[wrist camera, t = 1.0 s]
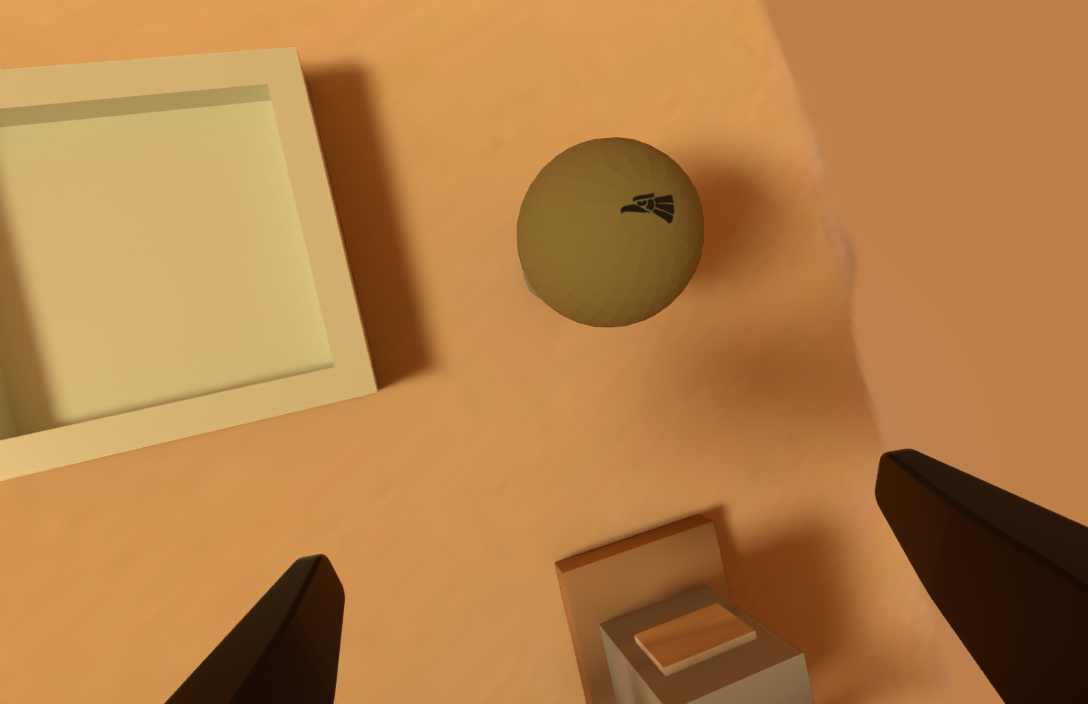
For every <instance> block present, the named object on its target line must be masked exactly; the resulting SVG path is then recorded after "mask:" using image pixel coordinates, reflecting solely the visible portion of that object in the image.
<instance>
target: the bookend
mask: <svg viewBox="0 0 1088 704" xmlns="http://www.w3.org/2000/svg"><path fill="white" fill-rule="evenodd" d="M555 567H556V572H557V576H558V580H559V585H560V589H561V594H562V598H563V602H564V607H565V611H566V615H567V620H568V624H569V629H570V633H571V637H572V642H573V646H574V651H575V655H576V659H577V664H578V668H579V672H580V677H581V681H582V686H583V690H584V694H585V699H586V703H587V704H815V703H814V698H813V694H812V689H811V684H810V680H809V675H808V670H807V666H806V661H805V656H804V652H802V651H801V650H799V649H798V648H796V647H795V646H793V645H792V644H791V643H789V642H788V641H786V640H785V639H783V638H782V637H781V636H779V635H778V634H776V633H775V632H773V631H772V630H771V629H769V628H768V627H766V626H765V625H763V624H762V623H761V622H759V621H758V620H756V619H755V618H753V617H752V616H750V615H749V614H748V613H746V612H745V611H743V610H742V609H740V608H739V607H738V606H736V605H735V604H733V603H732V602H731V599H730V594H729V590H728V585H727V581H726V576H725V572H724V567H723V562H722V558H721V553H720V549H719V544H718V540H717V535H716V530H715V526H714V521H712V520H710V519H708V518H706V517H704V516H702V515H700V514H698V515H695V516H692V517H689V518H686V519H683V520H680V521H677V522H675V523H672V524H669V525H666V526H663V527H660V528H657V529H654V530H651V531H648V532H645V533H642V534H639V535H636V536H633V537H630V538H627V539H624V540H621V541H618V542H615V543H612V544H609V545H606V546H603V547H601V548H598V549H595V550H592V551H589V552H586V553H583V554H580V555H577V556H574V557H571V558H568V559H565V560H562V561H559V562H556V563H555Z"/></svg>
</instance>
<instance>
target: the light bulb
mask: <svg viewBox="0 0 1088 704" xmlns="http://www.w3.org/2000/svg"><path fill="white" fill-rule="evenodd" d="M703 242H704V218H703V212H702V206H701V203H700V200H699V197H698V194H697V191H696V189H695V188H694V186H693V184H692V182H691V180H690V179H689V177H688V176H687V174H686V173H685V172H684V171H683V170H682V168H681V167H680V166H679V165H678V164H677V163H676V162H675V161H674V160H672V159H671V158H670V157H669V156H668V155H666V154H665V153H663V152H661V151H659V150H658V149H656V148H654V147H652V146H650V145H648V144H645V143H642V142H640V141H637V140H634V139H626V138H619V137H615V138H602V139H593V140H590V141H586V142H583V143H580V144H578V145H575V146H573V147H571V148H569V149H567V150H565V151H564V152H562V153H561V154H559V155H558V156H556V157H555V158H554V159H553V160H552V161H551V162H549V163H548V164H547V165H546V166H545V167H544V168H543V169H542V170H541V171H540V173H539V174H538V175H537V177H536V178H535V180H534V181H533V182H532V184H531V185H530V187H529V189H528V191H527V193H526V195H525V198H524V200H523V202H522V205H521V208H520V213H519V218H518V222H517V246H518V254H519V258H520V262H521V265H522V269H523V271H524V278H525V282H526V284H527V286H528V288H529V289H530V291H531V292H532V293H533V294H535V295H536V296H537V297H539V298H541V299H542V300H543V301H544V302H545V303H546V304H547V305H548V306H550V307H551V308H552V309H554V310H555V311H556V312H558V313H559V314H561V315H563V316H565V317H567V318H569V319H571V320H573V321H575V322H578V323H581V324H585V325H589V326H593V327H621V326H627V325H630V324H634V323H637V322H641V321H644V320H646V319H648V318H650V317H652V316H654V315H656V314H657V313H659V312H660V311H662V310H663V309H664V308H666V307H667V306H669V305H670V304H671V303H672V302H673V301H674V300H675V299H676V298H677V297H678V296H679V295H680V294H681V293H682V292H683V290H684V289H685V287H686V286H687V284H688V282H689V281H690V279H691V278H692V276H693V274H694V273H695V271H696V268H697V266H698V263H699V260H700V258H701V253H702V248H703Z"/></svg>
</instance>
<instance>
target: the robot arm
mask: <svg viewBox="0 0 1088 704" xmlns="http://www.w3.org/2000/svg"><path fill="white" fill-rule="evenodd" d="M875 497H876V501H877V503H878V506H879V508H880V509H881V511H882V513H883V515H884V517H885V518H886V520H887V522H888V524H889V525H890V527H891V529H892V531H893V533H894V534H895V536H896V538H897V540H898V541H899V543H900V545H901V547H902V549H903V550H904V552H905V554H906V556H907V557H908V559H909V561H910V563H911V565H912V566H913V568H914V570H915V572H916V573H917V575H918V577H919V579H920V580H921V582H922V584H923V585H924V587H925V589H926V590H927V592H928V594H929V595H930V597H931V598H932V600H933V601H934V602H935V604H936V606H937V607H938V608H939V610H940V611H941V613H942V614H943V616H944V617H945V619H946V620H947V621H948V623H949V624H950V626H951V627H952V628H953V630H954V631H955V633H956V634H957V636H958V637H959V639H960V640H961V641H962V643H963V644H964V646H965V647H966V648H967V650H968V651H969V653H970V654H971V656H972V657H973V658H974V660H975V661H976V663H977V664H978V666H979V667H980V668H981V670H982V671H983V673H984V674H985V675H986V677H987V678H988V680H989V681H990V683H991V684H992V685H993V687H994V688H995V690H996V691H997V693H998V694H999V695H1000V697H1001V698H1002V700H1003V701H1004V703H1005V704H1088V527H1087V526H1084V525H1082V524H1080V523H1077V522H1075V521H1073V520H1071V519H1068V518H1066V517H1064V516H1062V515H1060V514H1057V513H1055V512H1053V511H1051V510H1048V509H1046V508H1044V507H1042V506H1039V505H1037V504H1035V503H1033V502H1030V501H1028V500H1025V499H1024V498H1021V497H1019V496H1017V495H1015V494H1012V493H1010V492H1008V491H1006V490H1003V489H1001V488H999V487H997V486H994V485H992V484H990V483H987V482H985V481H983V480H981V479H979V478H976V477H974V476H972V475H970V474H967V473H965V472H963V471H960V470H958V469H956V468H954V467H952V466H949V465H947V464H945V463H943V462H940V461H938V460H936V459H934V458H931V457H929V456H927V455H925V454H923V453H920V452H918V451H916V450H913V449H901V450H895V451H890V452H886V453H884V454H883V455H882V456H881V458H880V461H879V468H878V474H877V480H876V486H875ZM344 604H345V594H344V589H343V586H342V584H341V582H340V580H339V578H338V576H337V574H336V572H335V570H334V568H333V566H332V564H331V562H330V560H329V559H328V557H327V556H325V555H324V554H318V555H312V556H307V557H302V558H299V559H298V560H296V561H295V562H294V563H293V564H292V565H291V566H290V567H289V569H288V570H287V571H286V572H285V573H284V574H283V575H282V576H281V577H280V578H279V579H278V580H277V582H276V583H275V584H274V585H273V586H272V587H271V588H270V589H269V590H268V591H267V592H266V594H265V595H264V596H263V597H262V598H261V599H260V600H259V601H258V602H257V603H256V604H255V605H254V607H253V608H252V609H251V610H250V611H249V612H248V613H247V614H246V615H245V616H244V617H243V619H242V620H241V621H240V622H239V623H238V624H237V625H236V626H235V627H234V628H233V629H232V630H231V632H230V633H229V634H228V635H227V636H226V637H225V638H224V639H223V640H222V641H221V642H220V644H219V645H218V646H217V647H216V648H215V649H214V650H213V651H212V652H211V653H210V654H209V656H208V657H207V658H206V659H205V660H204V661H203V662H202V663H201V664H200V665H199V666H198V667H197V669H196V670H195V671H194V672H193V673H192V674H191V675H190V676H189V677H188V678H187V679H186V681H185V682H184V683H183V684H182V685H181V686H180V687H179V688H178V689H177V690H176V691H175V692H174V694H173V695H172V696H171V697H170V698H169V699H168V700H167V701H166V702H165V703H164V704H333V703H334V697H335V690H336V682H337V672H338V662H339V653H340V643H341V633H342V623H343V614H344Z"/></svg>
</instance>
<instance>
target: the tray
mask: <svg viewBox="0 0 1088 704" xmlns="http://www.w3.org/2000/svg"><path fill="white" fill-rule="evenodd" d="M378 391H379V387H378V383H377V379H376V375H375V370H374V366H373V362H372V358H371V353H370V349H369V345H368V341H367V336H366V332H365V328H364V324H363V320H362V315H361V311H360V307H359V303H358V298H357V294H356V290H355V286H354V281H353V277H352V273H351V269H350V264H349V260H348V256H347V252H346V247H345V243H344V239H343V235H342V230H341V226H340V222H339V218H338V213H337V209H336V205H335V201H334V196H333V192H332V188H331V184H330V179H329V175H328V171H327V167H326V162H325V158H324V154H323V150H322V145H321V141H320V137H319V133H318V128H317V124H316V120H315V116H314V111H313V107H312V103H311V99H310V94H309V90H308V86H307V82H306V78H305V74H304V71H303V68H302V65H301V62H300V58H299V55H298V52H297V49H296V46H295V47H282V48H269V49H257V50H244V51H231V52H218V53H205V54H192V55H179V56H166V57H153V58H141V59H128V60H115V61H102V62H89V63H76V64H63V65H50V66H38V67H25V68H12V69H0V481H2V480H6V479H11V478H15V477H19V476H23V475H28V474H32V473H36V472H41V471H45V470H49V469H53V468H58V467H62V466H66V465H70V464H75V463H79V462H83V461H87V460H92V459H96V458H100V457H104V456H109V455H113V454H117V453H121V452H126V451H130V450H134V449H138V448H143V447H147V446H151V445H155V444H160V443H164V442H168V441H172V440H177V439H181V438H185V437H189V436H194V435H198V434H202V433H207V432H211V431H215V430H219V429H224V428H228V427H232V426H236V425H241V424H245V423H249V422H253V421H258V420H262V419H266V418H270V417H275V416H279V415H283V414H287V413H292V412H296V411H300V410H304V409H309V408H313V407H317V406H321V405H326V404H330V403H334V402H338V401H343V400H347V399H351V398H355V397H360V396H364V395H368V394H373V393H377V392H378Z"/></svg>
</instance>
